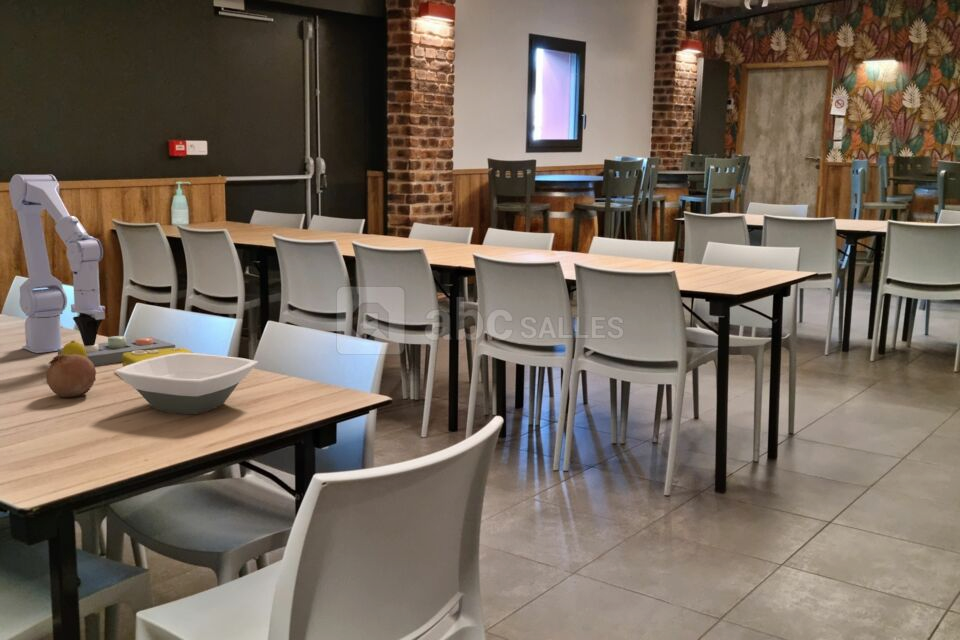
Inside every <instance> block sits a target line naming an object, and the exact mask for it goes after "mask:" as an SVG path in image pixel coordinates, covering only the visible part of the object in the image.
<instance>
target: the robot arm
mask: <svg viewBox="0 0 960 640" xmlns="http://www.w3.org/2000/svg"><path fill="white" fill-rule="evenodd" d="M8 190H9V197H10V201H11V206H12V209H13V210H14V211H16V214H17V220H18V224H19V225H18V226H19V231H20V236H21V241H22V246H23V251H24V258H25V262H26V263H25V264H26V269H27V274H28V275H27V276H28V278H27V279H26V280H25V281H24V282H23V283H22V284H21V285H20V286H19V306H20V309H21V311H22V312H23V313H24V315H25V316H27V318H26V319H25V322H24V334H25V335H24V336H25V345H22V346H21V347H22V349H25V350H27V351H30V352H32V353H34V354H42V353H51V352H58V349H59V348H63V347H64V346H65V345H62V328H61V315H63V314H64V313H63V312H65V310H66V308H67V305H68V297H67V294H66V292H65V290H64V288H63V283H62V281H61V280H59V279H58V278H56V277H55V276H53V275H52V272H51V267H50V261H49V256H48V250H47V245H46V239H45V233H44V228H43V223H42V217H41V214H42V211H44V210H45V211H47V212H48V214H49V215H50V216H51V218H52V219H53V221H55V223H56V224H55V226H54V229H55V231H56V233H57V235H58V236H59V238H60V239H61V241H62V242H63V244H64V245H65V246H66V252H65V253H66V258H67V261H68V263H69V269H70V271H72V277H73V278H72V280H73V281H72V282H73V300H74V301H73V302H74V304H72V303H71V304H70V311H71V313H77V314H79V315H78V316H73V317H72V320H73V321H74V324H75V325H76V326H77V328H78V330H79V334H80V336H81V341H82V343H83V344H84V345H85V346H91V345H95V344H96V340H97V336H98V335H97V334H98V331H99V327H100V325H101V323H102V321H103V320H105V319H106V313H105V311H106V306H104V305H101V295H100V275H99V274H100V271H99V263H100V262H101V261H102V260H103V257H104V249H103V245H102V243H101V241H100V239H98V238H96V237H93V236H92V235H89V233H88V232H87V231H86V229H85V228H84V226H83V225H82V222H80V219H78V217H76V216H74V215H70V213H69V211H68V209H67V208H66V205H65V204H64V202H63V200H62V198H61V196H60V184H59V182H58V179H57V178H56V176H55V175H53V174H51V173H48V174H19V173H17V174H14V175H13V176H12V177H11V179H10V181H9V184H8Z"/></svg>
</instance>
